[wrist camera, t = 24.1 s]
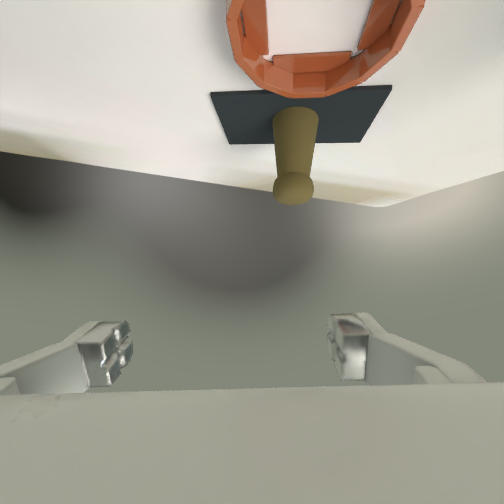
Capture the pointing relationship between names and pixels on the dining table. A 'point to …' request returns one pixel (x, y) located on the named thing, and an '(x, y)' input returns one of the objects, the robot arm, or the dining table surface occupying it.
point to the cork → (294, 154)
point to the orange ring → (318, 64)
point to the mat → (327, 108)
